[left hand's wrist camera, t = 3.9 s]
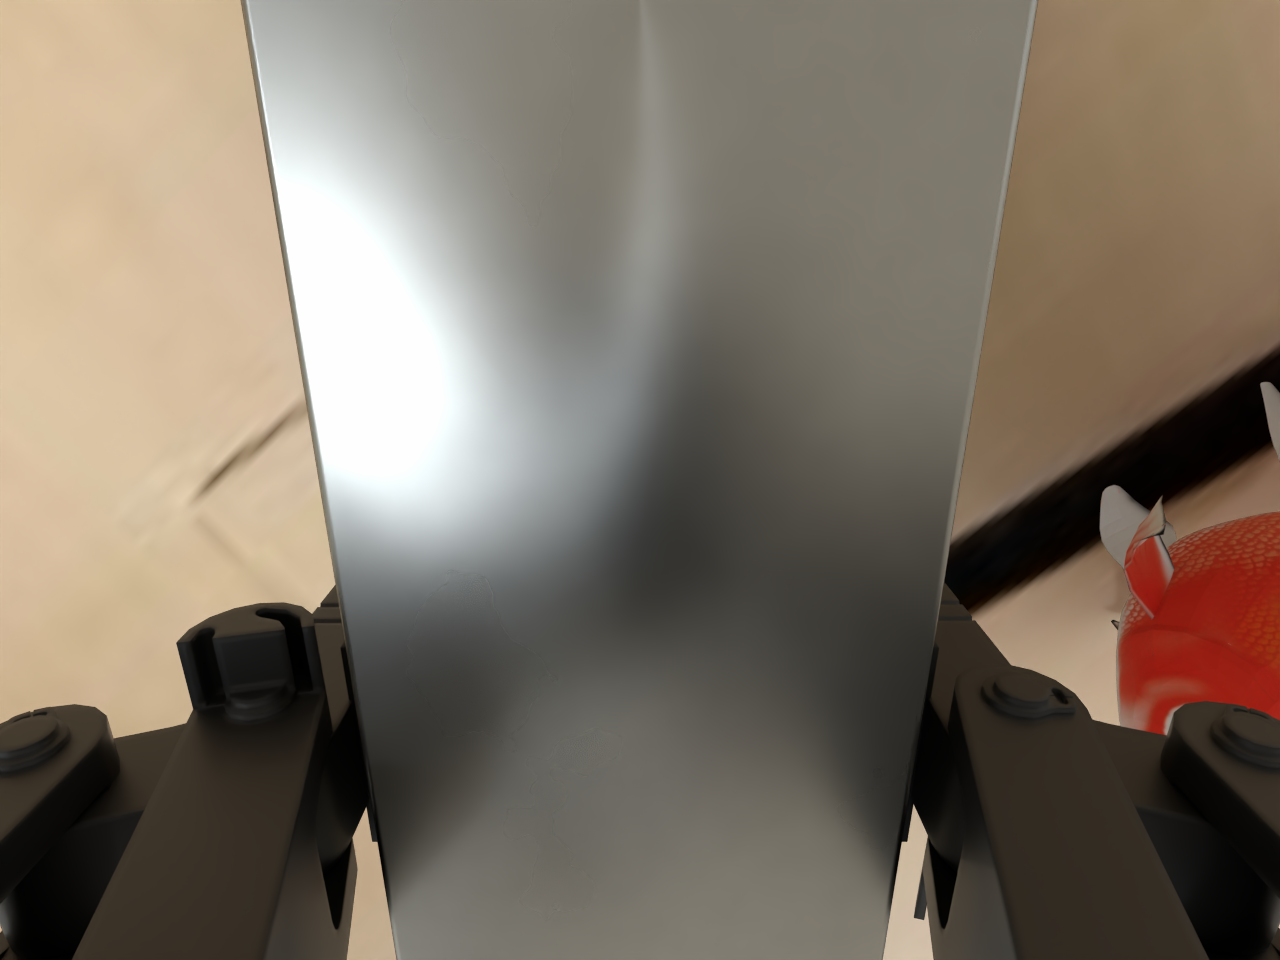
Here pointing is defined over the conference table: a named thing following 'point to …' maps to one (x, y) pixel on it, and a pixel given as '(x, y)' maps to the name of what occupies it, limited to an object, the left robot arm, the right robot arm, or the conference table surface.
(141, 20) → the conference table surface
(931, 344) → the bar
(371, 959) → the conference table surface
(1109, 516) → the fish
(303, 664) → the left robot arm
